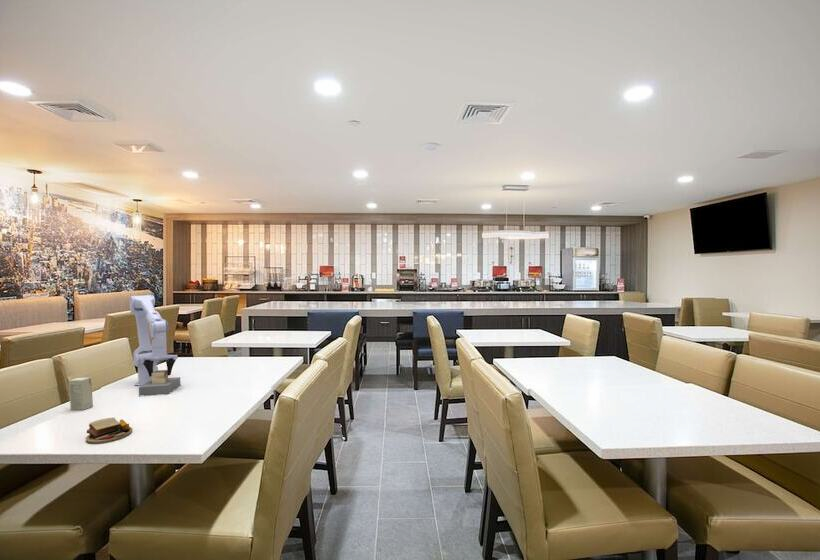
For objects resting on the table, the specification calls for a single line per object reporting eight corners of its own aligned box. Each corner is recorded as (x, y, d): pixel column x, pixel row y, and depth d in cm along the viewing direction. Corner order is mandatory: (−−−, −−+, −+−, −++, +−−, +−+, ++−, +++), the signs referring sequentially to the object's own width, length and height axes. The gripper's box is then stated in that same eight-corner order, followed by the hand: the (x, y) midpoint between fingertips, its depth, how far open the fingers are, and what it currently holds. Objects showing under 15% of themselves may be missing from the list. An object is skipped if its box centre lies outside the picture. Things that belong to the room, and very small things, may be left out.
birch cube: (156, 380, 186) (156, 370, 186) (168, 380, 187) (168, 369, 187) (151, 383, 181) (151, 373, 181) (163, 383, 182) (163, 372, 182)
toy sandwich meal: (90, 448, 124) (89, 433, 124) (81, 437, 133) (81, 423, 133) (137, 435, 134) (136, 421, 133) (126, 425, 143) (125, 412, 142)
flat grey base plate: (153, 387, 190) (153, 378, 190) (180, 385, 192) (180, 377, 192) (139, 396, 176) (138, 387, 176) (168, 394, 178) (168, 385, 178)
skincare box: (93, 406, 163) (92, 377, 163) (83, 410, 159) (82, 380, 158) (79, 406, 164) (78, 377, 163) (69, 410, 159) (68, 380, 159)
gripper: (137, 349, 178) (138, 378, 179) (172, 347, 181) (173, 376, 181) (145, 346, 185) (146, 374, 185) (178, 344, 188) (179, 372, 188)
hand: (160, 375), depth 184 cm, fingers open, 7 cm apart
